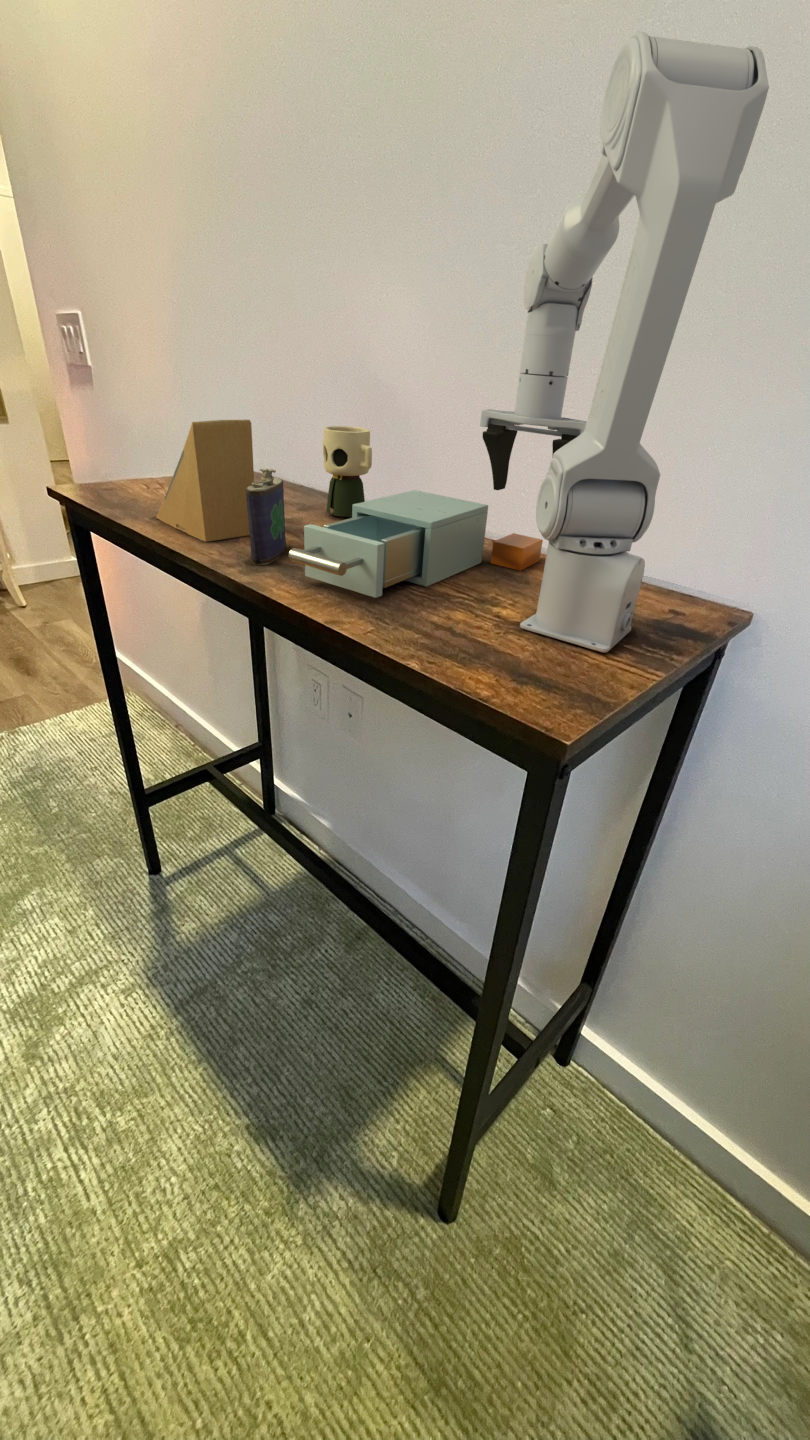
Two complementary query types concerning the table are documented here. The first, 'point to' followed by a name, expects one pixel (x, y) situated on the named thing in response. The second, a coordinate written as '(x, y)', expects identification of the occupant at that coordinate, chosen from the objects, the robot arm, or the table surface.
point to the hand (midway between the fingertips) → (525, 494)
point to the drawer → (362, 553)
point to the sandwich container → (212, 481)
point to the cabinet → (436, 529)
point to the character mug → (346, 466)
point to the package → (516, 551)
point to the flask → (266, 518)
